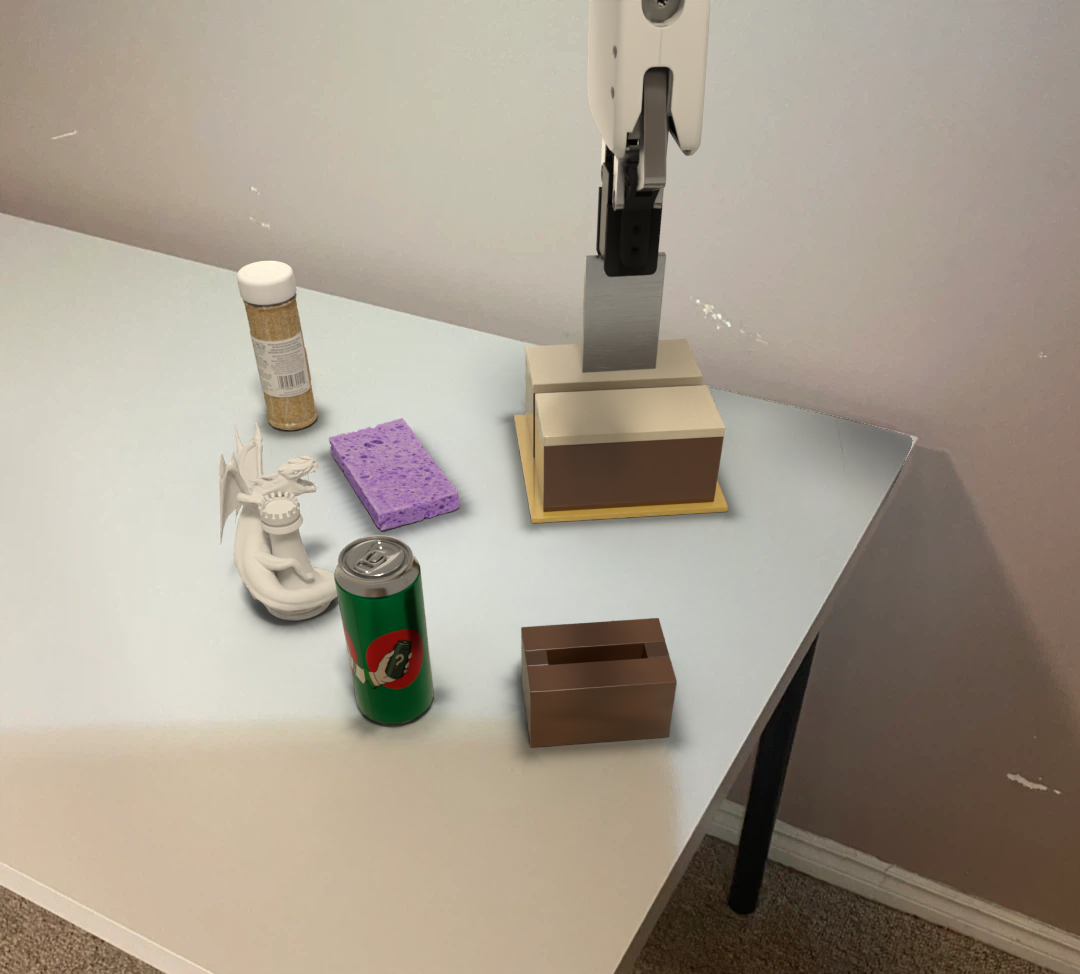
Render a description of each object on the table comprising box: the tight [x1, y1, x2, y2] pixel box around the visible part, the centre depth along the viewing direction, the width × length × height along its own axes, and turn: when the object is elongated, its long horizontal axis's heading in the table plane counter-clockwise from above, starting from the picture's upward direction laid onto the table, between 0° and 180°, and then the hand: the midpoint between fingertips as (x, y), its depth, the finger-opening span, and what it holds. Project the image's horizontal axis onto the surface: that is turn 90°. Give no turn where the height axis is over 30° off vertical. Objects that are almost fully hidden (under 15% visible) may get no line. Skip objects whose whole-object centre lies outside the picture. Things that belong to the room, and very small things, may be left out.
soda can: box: [333, 534, 434, 725], centre depth 63 cm, size 5×5×12 cm
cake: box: [513, 338, 729, 524], centre depth 85 cm, size 16×16×7 cm
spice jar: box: [236, 260, 318, 431], centre depth 87 cm, size 5×5×13 cm
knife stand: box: [520, 617, 678, 748], centre depth 65 cm, size 9×6×5 cm, turn 96°
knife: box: [581, 162, 667, 373], centre depth 63 cm, size 5×2×12 cm, turn 97°
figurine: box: [219, 421, 338, 622], centre depth 72 cm, size 11×8×12 cm
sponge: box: [328, 417, 460, 531], centre depth 85 cm, size 7×13×2 cm, turn 26°
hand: (625, 262), depth 63 cm, fingers closed on knife, 2 cm apart
